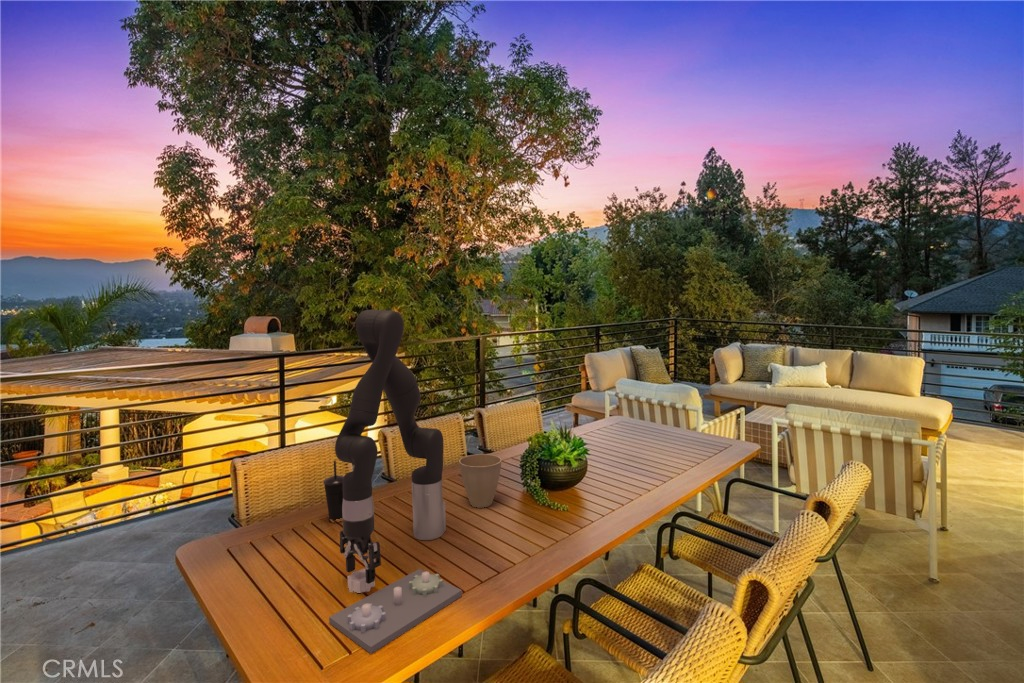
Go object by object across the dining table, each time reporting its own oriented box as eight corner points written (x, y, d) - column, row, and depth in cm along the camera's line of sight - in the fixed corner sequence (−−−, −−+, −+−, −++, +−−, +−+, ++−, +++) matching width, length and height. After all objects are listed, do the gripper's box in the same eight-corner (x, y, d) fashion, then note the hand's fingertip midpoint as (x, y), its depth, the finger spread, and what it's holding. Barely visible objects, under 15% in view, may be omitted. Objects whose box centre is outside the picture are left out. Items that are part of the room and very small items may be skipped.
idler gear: (365, 577, 133) (364, 566, 133) (379, 585, 129) (379, 574, 129) (342, 588, 128) (342, 576, 128) (357, 597, 124) (357, 585, 124)
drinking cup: (352, 514, 172) (349, 457, 171) (345, 524, 165) (342, 464, 163) (329, 515, 172) (326, 457, 171) (321, 525, 165) (318, 465, 163)
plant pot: (508, 508, 176) (507, 463, 174) (467, 515, 170) (466, 469, 169) (494, 493, 189) (493, 451, 188) (455, 499, 184) (454, 456, 183)
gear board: (419, 574, 134) (418, 556, 134) (461, 596, 124) (461, 576, 123) (329, 623, 114) (328, 602, 114) (371, 654, 104) (370, 630, 103)
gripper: (388, 516, 125) (390, 579, 126) (355, 502, 134) (357, 561, 135) (361, 526, 119) (364, 592, 120) (329, 511, 128) (331, 573, 130)
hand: (360, 576), depth 128 cm, fingers open, 8 cm apart
